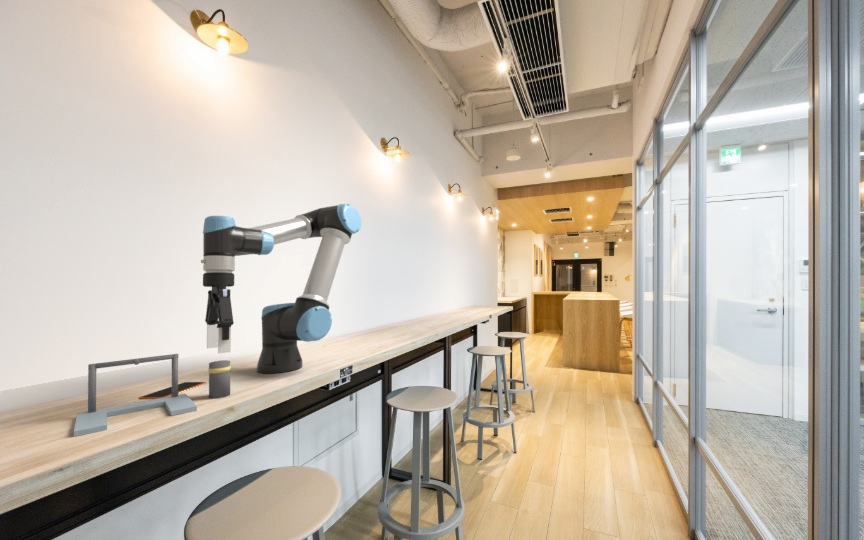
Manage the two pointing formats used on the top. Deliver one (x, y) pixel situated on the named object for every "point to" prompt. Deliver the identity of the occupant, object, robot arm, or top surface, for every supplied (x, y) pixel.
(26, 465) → the top surface
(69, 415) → the top surface
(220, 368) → the yellow-banded grey cylinder
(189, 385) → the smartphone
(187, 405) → the arch on base
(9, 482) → the top surface
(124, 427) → the top surface
